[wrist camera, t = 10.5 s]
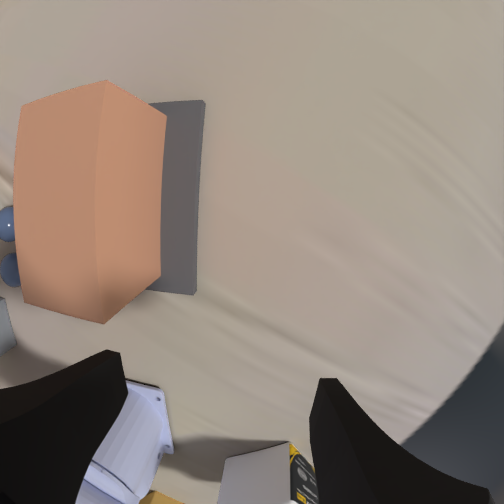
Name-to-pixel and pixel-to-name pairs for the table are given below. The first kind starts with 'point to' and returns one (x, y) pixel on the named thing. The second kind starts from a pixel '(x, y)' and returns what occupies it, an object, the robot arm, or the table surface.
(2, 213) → the marble
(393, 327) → the table surface
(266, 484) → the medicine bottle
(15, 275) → the marble
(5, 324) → the grey rectangular block
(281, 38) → the table surface
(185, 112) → the charcoal mat
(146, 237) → the salmon rectangular prism
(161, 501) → the rubber stamp
